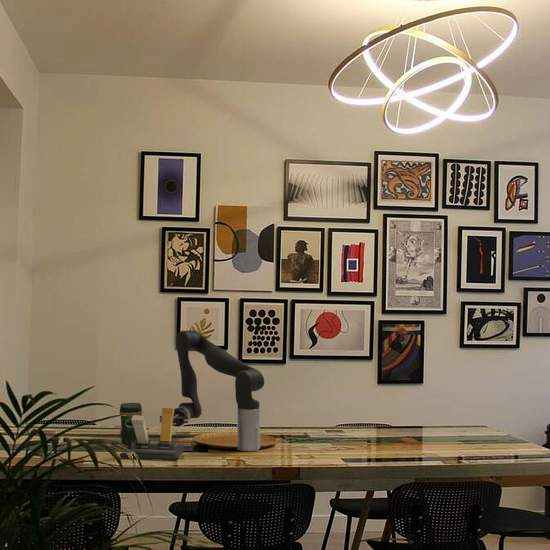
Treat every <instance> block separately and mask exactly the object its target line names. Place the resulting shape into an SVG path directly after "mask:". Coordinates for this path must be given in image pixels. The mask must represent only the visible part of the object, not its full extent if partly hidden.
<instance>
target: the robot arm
mask: <svg viewBox="0 0 550 550" xmlns="http://www.w3.org/2000/svg"><path fill="white" fill-rule="evenodd" d="M175 344H176V345H175V346H176V352H177V357H178V363H179V368H180V379H181V385H180V386H181V387H180V388H181V396H182V397H183V398H189V400H191V402H181V403H179V404H178V407H176V408H173V409H174V415H173V424H172V427H177V428H178V427H181V426H183V425H184V424H189V421H190V420H191V419H198V418H200V416H201V415H202V406H201V402H200V399H199V396H198V381H197V380H198V379H197V374H196V372H195V369H193V366H192V364H191V361H190V358H189V357H190V356H189V352H190V351H191V352H193V351H195V352H197V353H199V354H201V355H203V357H204V359H205V363H206V364H207V365H208V366H209V367H210V368H212V369H213V370H215V371H216V372H217V373H221V374H223V375H227V376H230V377H233V378H235V379H234V380H235V381H234V389H235V402H236V404H237V419H236V421H237V423H236V424H237V426H236V428H237V429H236V436H237V438H236V439H237V442H236V447H238V448H236V449H237V450H238V451H243V452H253V451H254V452H256V451H257V452H258V451H259V450H260V449H261V425H260V401H259V400H257V399H254V397H253V392H257V391H260V390H261V389H262V388H263V387H264V385H265V378H264V375H263V374H262V373H261V371H259V369H256V368H255V367H252V366H250V365H248V364H246V363H244V362H242V361H241V360H239V359H238V358H236V357H235V356H233V354H232V355H231V354H230V353H229V352H227V351H226V350H224V349H223V348H221V347H219V346H218V345H216V344H215V343H213V342H211V340H209V339H208V338H206V336H204V335H203V334H202V333H201V332H199V331H197V330H180V331H178V333H177V334H176V337H175ZM159 423H162V415H159Z"/></svg>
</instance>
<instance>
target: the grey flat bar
mask: <svg viewBox="0 0 550 550" xmlns="http://www.w3.org/2000/svg"><path fill="white" fill-rule="evenodd" d="M129 450H131V451H134V452H135V453H136V454H137V455H138V457H139V458H141V459H140V460H152V459H162V460H161V461H179V459H180V456H178V455H175V454H176V451H169V450H144V449H129ZM132 456H133V458H135V459H134V460H137V459H136V457H135V456H134V454H133V455H132ZM120 457H121V459H128V460H129V459H130V458H129V457H128V455H127V454H126V453H124V452H121V453H119V458H120ZM130 460H131V459H130Z"/></svg>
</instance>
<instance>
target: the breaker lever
mask: <svg viewBox="0 0 550 550" xmlns="http://www.w3.org/2000/svg"><path fill="white" fill-rule="evenodd" d="M174 409H175V408H171V407H166V408H165V407H162V408H161V416H162V423H161V422H160V423H161V425H160V435H159V437H160V438H159V441H160V442H159V447H169V444H170V443H172V436H173V435H172V434H173V433H172V432H173V425H172V424H173V415H174Z"/></svg>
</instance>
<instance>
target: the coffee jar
mask: <svg viewBox="0 0 550 550" xmlns="http://www.w3.org/2000/svg"><path fill="white" fill-rule="evenodd" d="M119 407H120V408H119V412H118V413H119V416H120V415H126V416H121V417H120V432H119V433H120V434H119V444H120V443H122V444H124V445H126V446H128V447H131V442H133V441H135V440H137V438H136V434H135V430H134V426H133V424H132V421H131V419H132V417H133V415H140V416H143V408H142V404H141V403H140V402H126V403H125V402H123V403H121V404H120V406H119Z"/></svg>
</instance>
